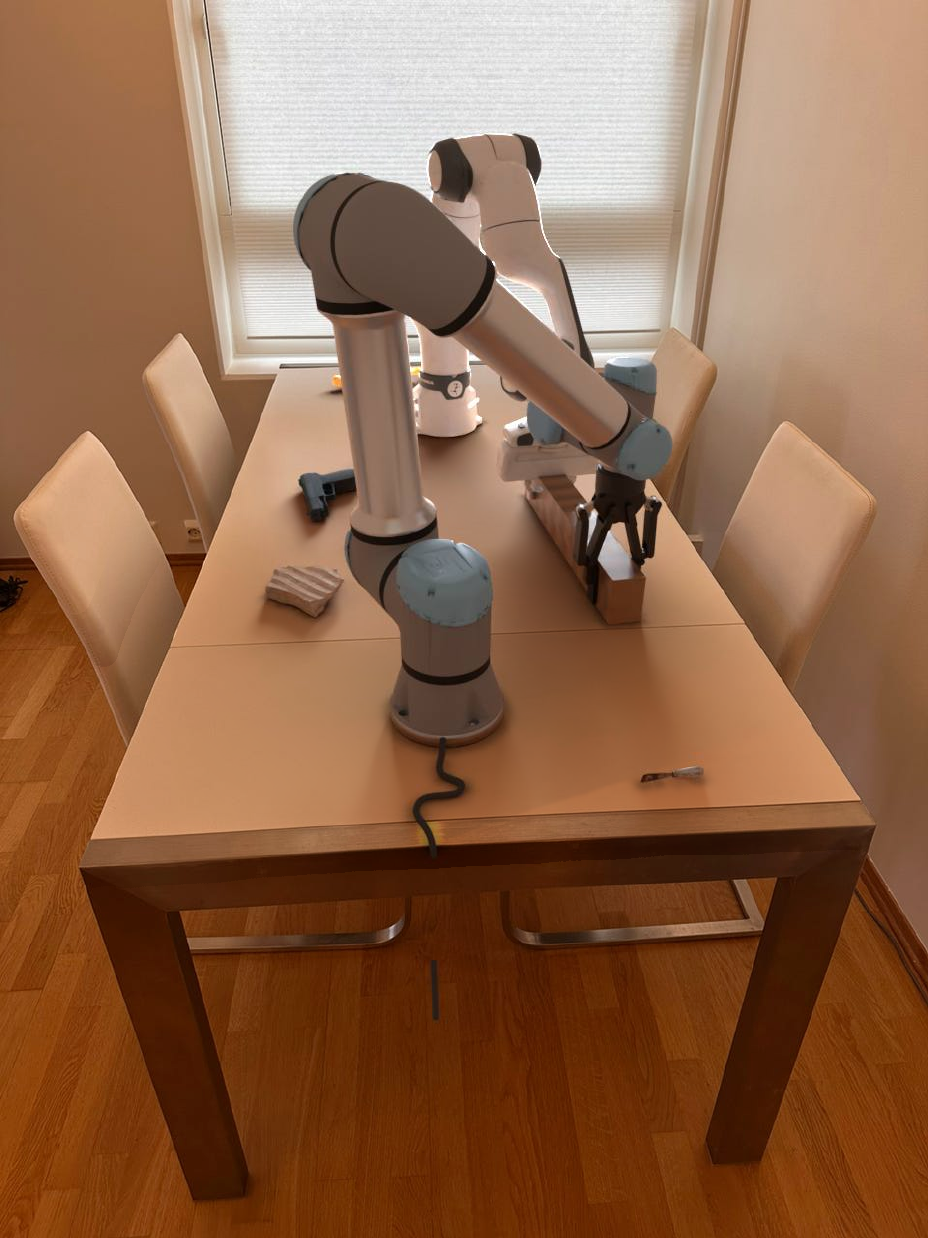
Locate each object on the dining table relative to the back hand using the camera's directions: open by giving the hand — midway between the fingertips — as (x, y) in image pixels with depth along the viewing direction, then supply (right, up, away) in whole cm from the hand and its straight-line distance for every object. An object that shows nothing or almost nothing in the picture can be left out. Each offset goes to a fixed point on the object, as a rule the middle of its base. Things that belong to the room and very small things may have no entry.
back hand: (547, 497), depth 174 cm
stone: (-43, -20, -27) cm, 54 cm away
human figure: (-40, +40, +70) cm, 90 cm away
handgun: (-43, 0, +5) cm, 43 cm away
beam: (+4, -12, -13) cm, 18 cm away
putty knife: (+9, -44, -65) cm, 79 cm away
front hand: (+7, -20, -29) cm, 36 cm away
